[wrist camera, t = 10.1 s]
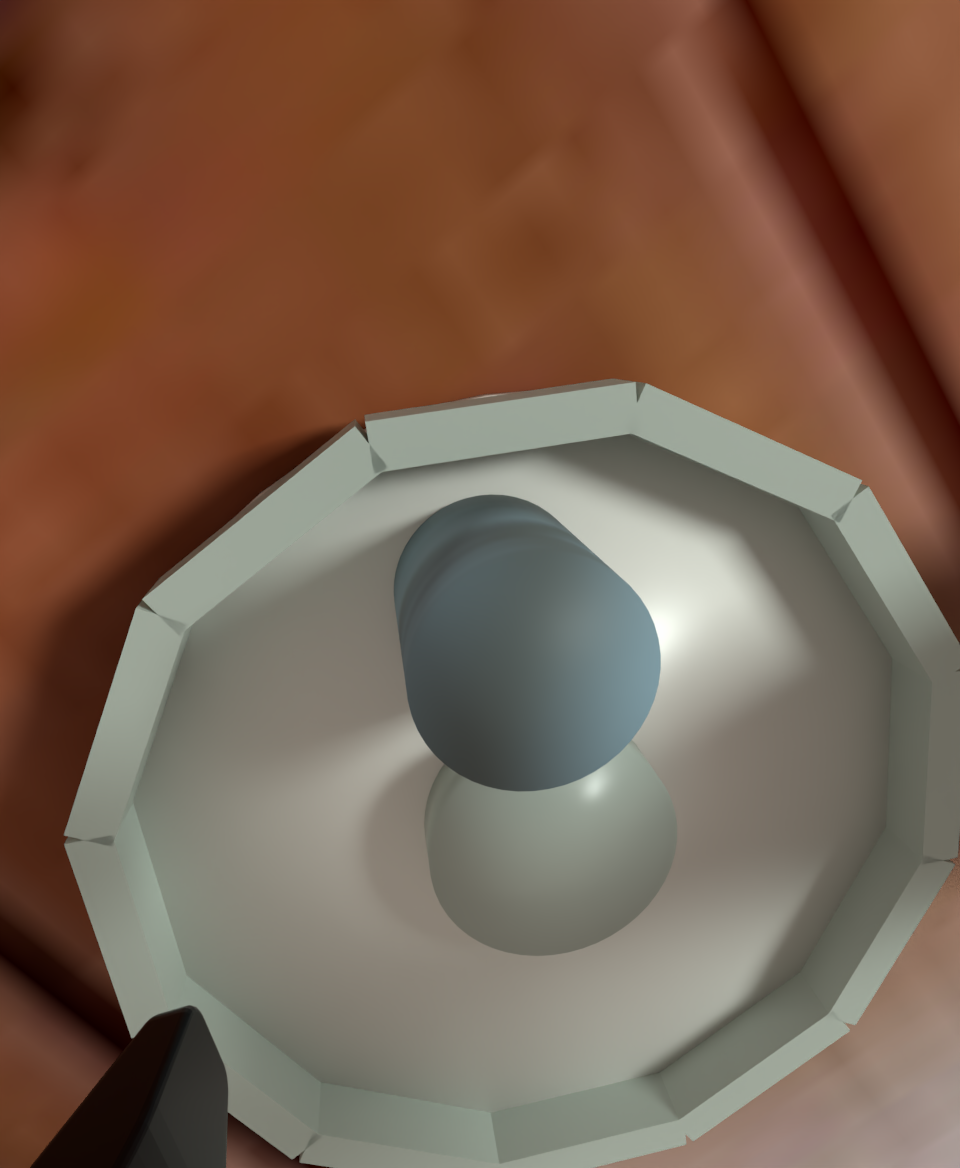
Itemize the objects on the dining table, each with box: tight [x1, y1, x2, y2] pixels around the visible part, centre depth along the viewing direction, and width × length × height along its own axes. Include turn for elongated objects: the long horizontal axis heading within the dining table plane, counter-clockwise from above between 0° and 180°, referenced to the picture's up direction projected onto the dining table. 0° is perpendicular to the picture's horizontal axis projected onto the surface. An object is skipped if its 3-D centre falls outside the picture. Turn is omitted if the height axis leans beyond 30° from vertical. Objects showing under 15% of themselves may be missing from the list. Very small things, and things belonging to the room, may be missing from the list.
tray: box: [64, 379, 960, 1168], centre depth 20 cm, size 21×21×2 cm
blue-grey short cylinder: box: [394, 494, 661, 792], centre depth 16 cm, size 4×4×5 cm
